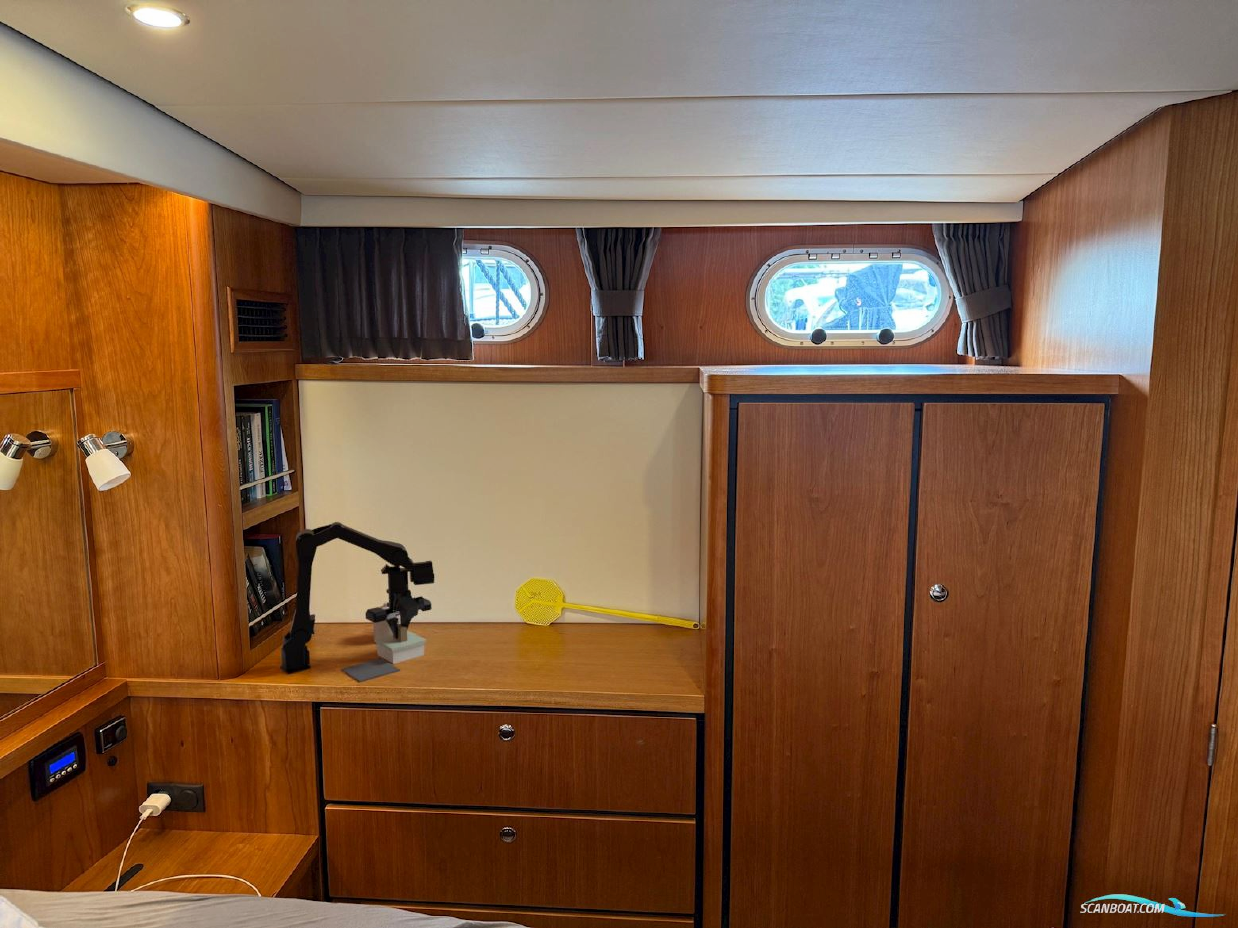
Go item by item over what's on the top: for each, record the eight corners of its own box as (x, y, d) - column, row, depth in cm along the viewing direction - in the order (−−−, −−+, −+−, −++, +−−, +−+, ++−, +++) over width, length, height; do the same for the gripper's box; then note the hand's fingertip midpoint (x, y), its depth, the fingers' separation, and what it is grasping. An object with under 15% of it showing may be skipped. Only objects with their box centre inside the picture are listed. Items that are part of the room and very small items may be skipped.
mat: (359, 682, 214) (359, 680, 214) (341, 669, 223) (340, 668, 223) (400, 670, 222) (400, 669, 222) (380, 659, 231) (380, 657, 231)
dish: (393, 663, 227) (392, 650, 227) (377, 654, 234) (376, 641, 234) (424, 655, 234) (423, 642, 234) (407, 646, 241) (407, 633, 241)
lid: (392, 651, 226) (391, 635, 225) (374, 641, 234) (373, 626, 233) (426, 642, 234) (425, 626, 233) (407, 633, 241) (407, 618, 241)
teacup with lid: (399, 643, 244) (398, 606, 243) (369, 643, 244) (368, 607, 242) (407, 630, 256) (406, 595, 255) (379, 630, 256) (378, 595, 254)
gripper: (381, 598, 219) (383, 652, 221) (440, 586, 232) (441, 636, 234) (363, 590, 227) (365, 642, 229) (421, 578, 240) (422, 627, 242)
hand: (400, 637), depth 234 cm, fingers closed on lid
